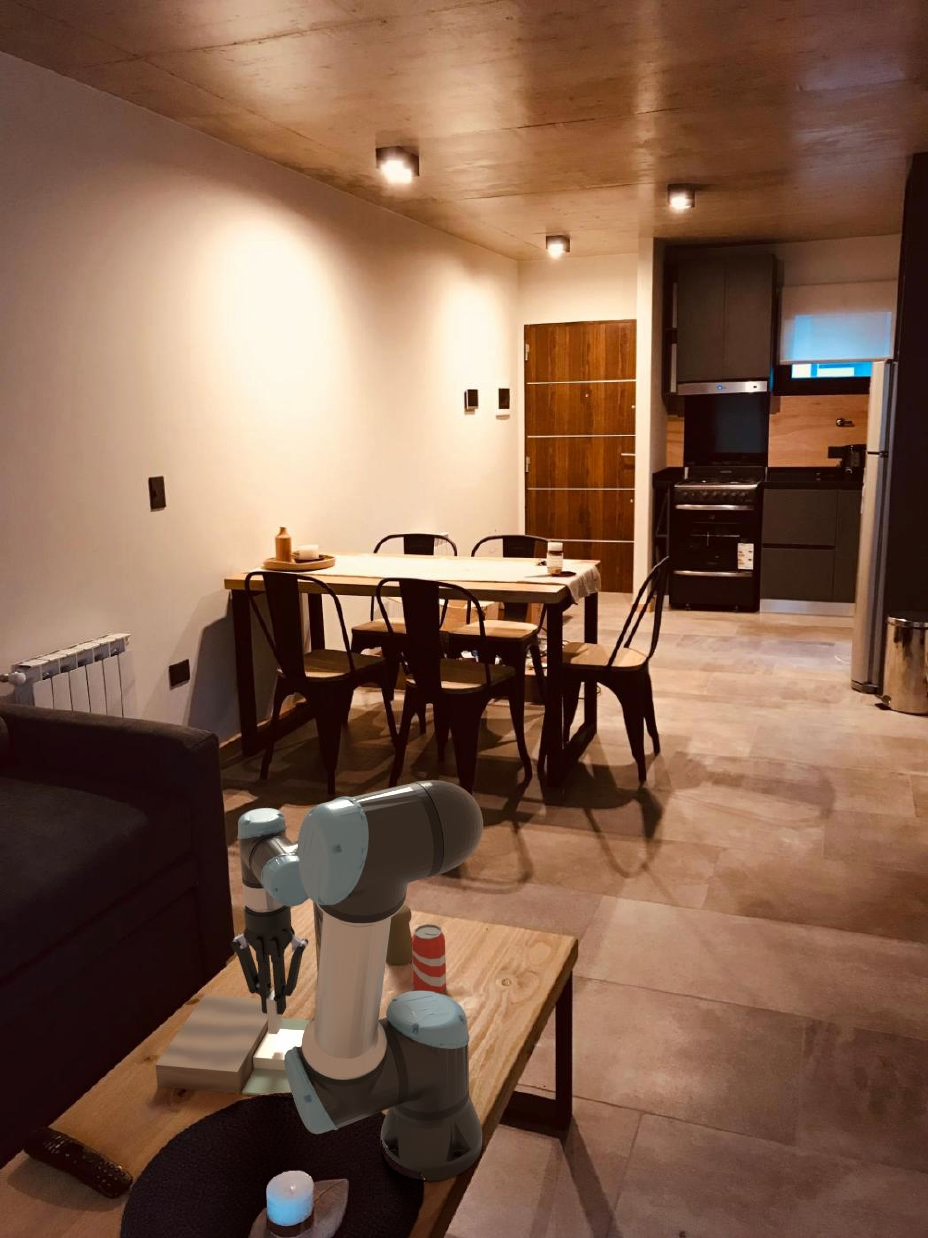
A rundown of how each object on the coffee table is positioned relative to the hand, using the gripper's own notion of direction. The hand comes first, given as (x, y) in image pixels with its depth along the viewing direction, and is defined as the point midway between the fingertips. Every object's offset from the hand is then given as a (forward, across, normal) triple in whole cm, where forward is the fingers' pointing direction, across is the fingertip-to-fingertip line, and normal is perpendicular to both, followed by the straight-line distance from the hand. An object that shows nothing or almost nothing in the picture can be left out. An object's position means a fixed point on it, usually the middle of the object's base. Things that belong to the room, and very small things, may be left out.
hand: (275, 1029), depth 173 cm
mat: (+5, -5, 0) cm, 7 cm away
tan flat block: (+5, +10, 0) cm, 11 cm away
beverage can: (+5, -22, -23) cm, 32 cm away
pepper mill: (+5, -14, -33) cm, 36 cm away
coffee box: (+5, -4, -23) cm, 24 cm away
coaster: (+5, -1, 0) cm, 5 cm away
